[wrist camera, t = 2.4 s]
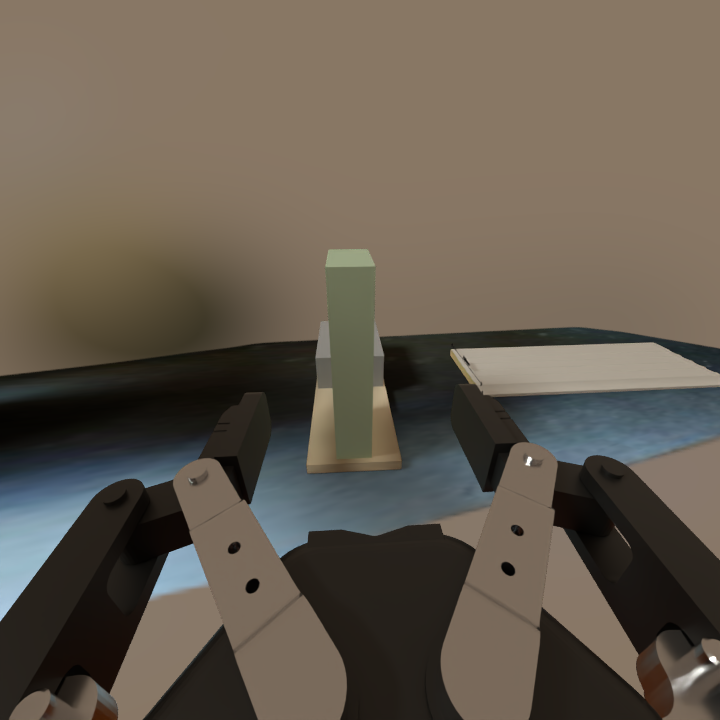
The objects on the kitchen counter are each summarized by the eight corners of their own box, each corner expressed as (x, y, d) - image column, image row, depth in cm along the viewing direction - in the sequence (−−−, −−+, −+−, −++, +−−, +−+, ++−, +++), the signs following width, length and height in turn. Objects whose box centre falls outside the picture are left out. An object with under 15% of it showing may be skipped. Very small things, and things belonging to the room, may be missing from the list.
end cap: (318, 388, 35) (315, 358, 33) (322, 347, 45) (320, 321, 43) (382, 386, 36) (384, 355, 34) (374, 345, 45) (374, 320, 43)
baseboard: (739, 397, 36) (648, 351, 47) (754, 377, 35) (657, 333, 45) (483, 409, 34) (448, 358, 45) (488, 387, 33) (451, 340, 44)
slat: (336, 459, 26) (325, 267, 18) (337, 414, 31) (328, 249, 24) (371, 457, 26) (375, 266, 19) (366, 413, 32) (367, 249, 24)
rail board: (307, 473, 26) (306, 465, 26) (321, 352, 45) (321, 346, 45) (401, 469, 26) (401, 460, 26) (375, 351, 46) (375, 345, 45)
